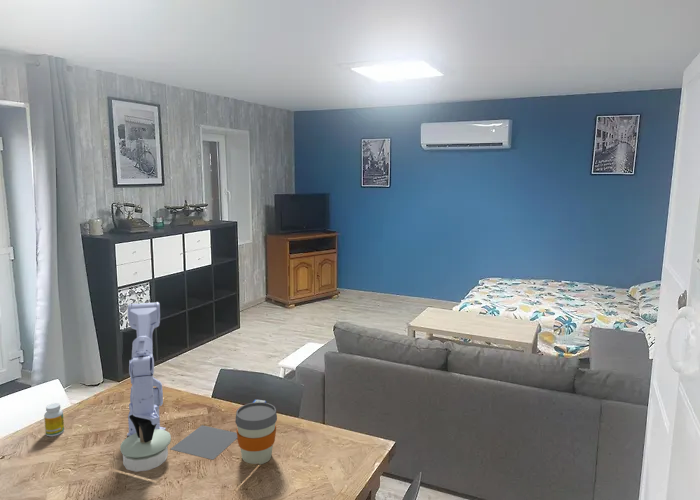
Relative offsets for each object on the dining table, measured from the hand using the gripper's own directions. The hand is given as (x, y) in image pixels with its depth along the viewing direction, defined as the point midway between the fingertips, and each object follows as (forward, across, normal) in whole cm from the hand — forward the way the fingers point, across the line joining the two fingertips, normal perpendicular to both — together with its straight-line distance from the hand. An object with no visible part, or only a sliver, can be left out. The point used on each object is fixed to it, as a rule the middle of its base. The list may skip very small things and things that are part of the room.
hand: (145, 438), depth 142 cm
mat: (+7, -5, -18) cm, 20 cm away
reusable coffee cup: (+7, -24, -23) cm, 34 cm away
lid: (+2, 0, 0) cm, 2 cm away
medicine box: (+8, -10, -34) cm, 37 cm away
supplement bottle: (+7, +38, +12) cm, 41 cm away
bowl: (+7, 0, 0) cm, 7 cm away
